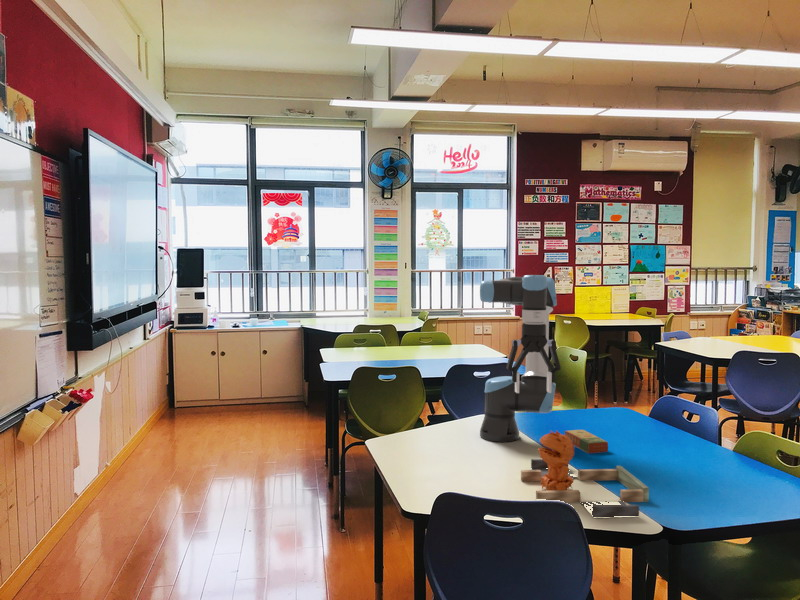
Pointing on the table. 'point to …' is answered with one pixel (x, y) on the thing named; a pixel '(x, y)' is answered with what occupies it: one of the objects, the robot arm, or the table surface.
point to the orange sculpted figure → (556, 461)
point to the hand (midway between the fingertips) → (532, 392)
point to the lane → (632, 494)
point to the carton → (587, 441)
